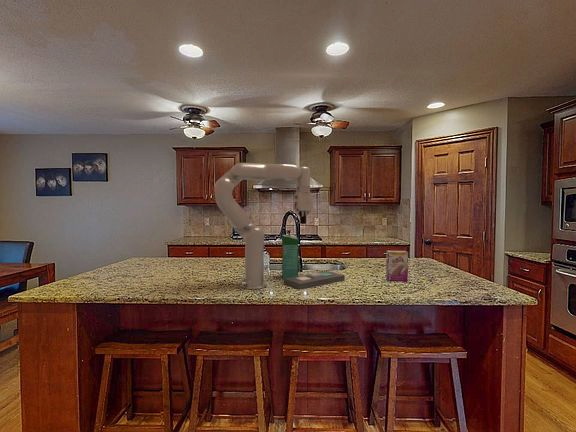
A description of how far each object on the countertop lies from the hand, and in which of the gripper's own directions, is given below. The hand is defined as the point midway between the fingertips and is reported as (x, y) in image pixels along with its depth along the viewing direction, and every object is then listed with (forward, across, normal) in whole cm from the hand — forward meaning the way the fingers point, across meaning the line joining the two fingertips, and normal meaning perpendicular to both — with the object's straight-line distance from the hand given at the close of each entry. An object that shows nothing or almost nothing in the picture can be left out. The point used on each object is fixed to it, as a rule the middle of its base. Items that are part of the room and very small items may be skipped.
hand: (303, 223), depth 174 cm
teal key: (+31, +13, -4) cm, 34 cm away
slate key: (+30, +5, -4) cm, 31 cm away
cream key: (+31, -3, -4) cm, 32 cm away
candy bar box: (+32, +45, -28) cm, 62 cm away
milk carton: (+32, +1, +13) cm, 35 cm away
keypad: (+32, +5, -4) cm, 33 cm away
